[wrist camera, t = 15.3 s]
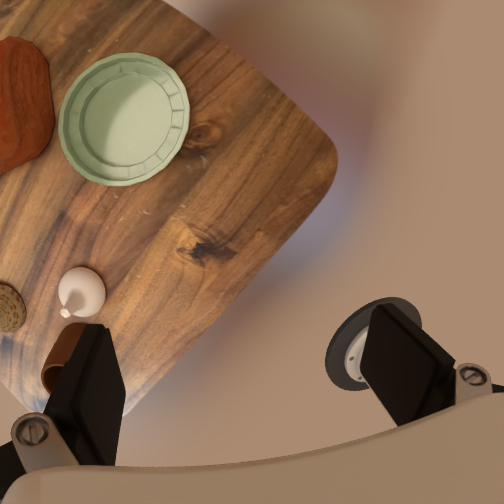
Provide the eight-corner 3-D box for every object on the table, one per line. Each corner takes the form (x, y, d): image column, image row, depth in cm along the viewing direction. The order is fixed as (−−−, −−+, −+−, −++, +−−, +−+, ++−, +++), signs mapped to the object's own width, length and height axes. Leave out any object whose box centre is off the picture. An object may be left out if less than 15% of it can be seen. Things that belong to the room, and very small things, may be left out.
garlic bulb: (71, 309, 37) (52, 343, 30) (58, 267, 35) (33, 294, 28) (112, 305, 38) (99, 340, 31) (101, 261, 36) (82, 289, 28)
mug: (97, 389, 42) (86, 433, 33) (54, 370, 40) (36, 412, 31) (114, 334, 39) (101, 379, 31) (65, 312, 37) (42, 353, 28)
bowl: (175, 46, 29) (173, 36, 26) (203, 161, 34) (204, 163, 31) (60, 87, 28) (48, 82, 24) (88, 197, 33) (77, 204, 30)
